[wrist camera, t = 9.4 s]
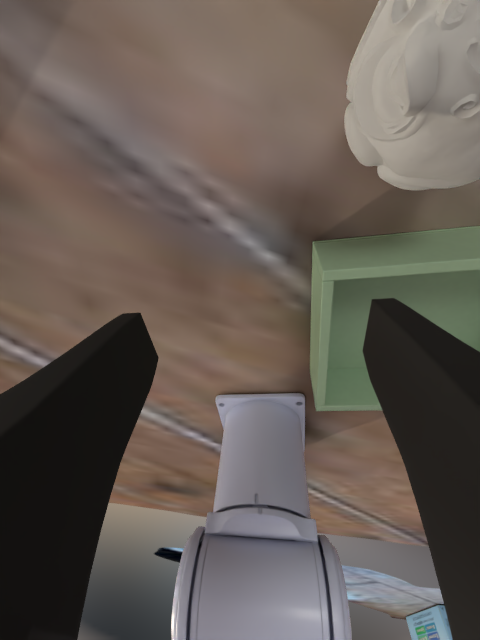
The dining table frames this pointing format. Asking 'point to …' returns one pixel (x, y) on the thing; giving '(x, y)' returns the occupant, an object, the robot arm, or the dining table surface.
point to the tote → (379, 283)
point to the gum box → (430, 624)
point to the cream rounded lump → (418, 94)
